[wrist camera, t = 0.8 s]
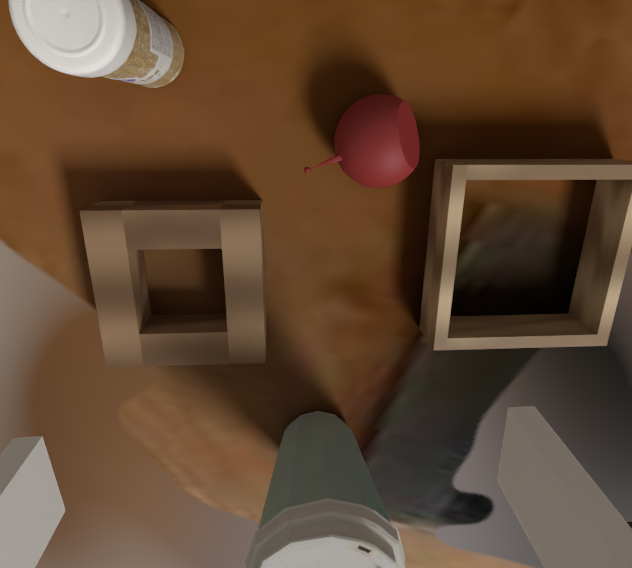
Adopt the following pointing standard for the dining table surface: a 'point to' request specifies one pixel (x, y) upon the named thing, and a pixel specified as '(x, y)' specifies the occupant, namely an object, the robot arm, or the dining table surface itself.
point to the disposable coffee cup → (323, 504)
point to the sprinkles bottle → (100, 39)
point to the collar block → (132, 289)
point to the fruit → (376, 141)
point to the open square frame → (592, 275)
